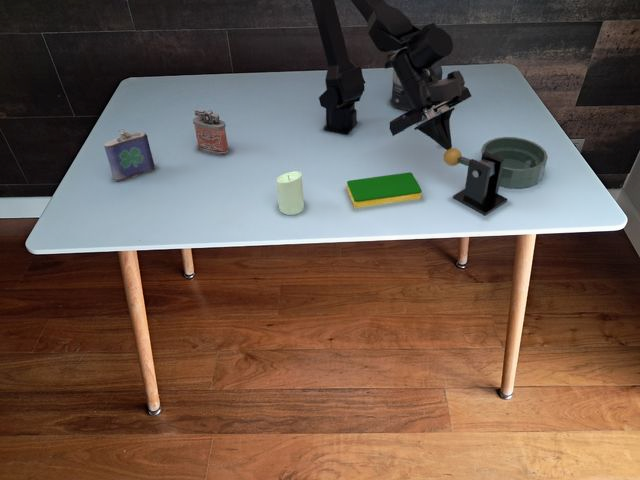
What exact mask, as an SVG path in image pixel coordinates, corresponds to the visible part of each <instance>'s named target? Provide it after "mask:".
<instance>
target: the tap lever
mask: <svg viewBox="0 0 640 480" xmlns="http://www.w3.org/2000/svg"><path fill="white" fill-rule="evenodd" d="M442 157H443V158H442V159H443V161H444V163H445V164H446V165H447V166H450V167H454V166H457V165H459V164H461V165H464V166H466V167H468V166H469V161H470V160H471V159H472V158H471V159H470V158H468V157H465V156H463V155H462V152H461V151H460V150H459V149H458V148H456V147H452V148H450V149H448V150H446V149H445V152H444V153H443V156H442ZM479 160H480V159H479ZM479 160H478V162H480V163H482V164H484V165H486V166H488V167H490V168H491V172H490V176H492V175H493V174H495V162H492V161H489V160H486V159H482V160H480V161H479Z"/></svg>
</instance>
